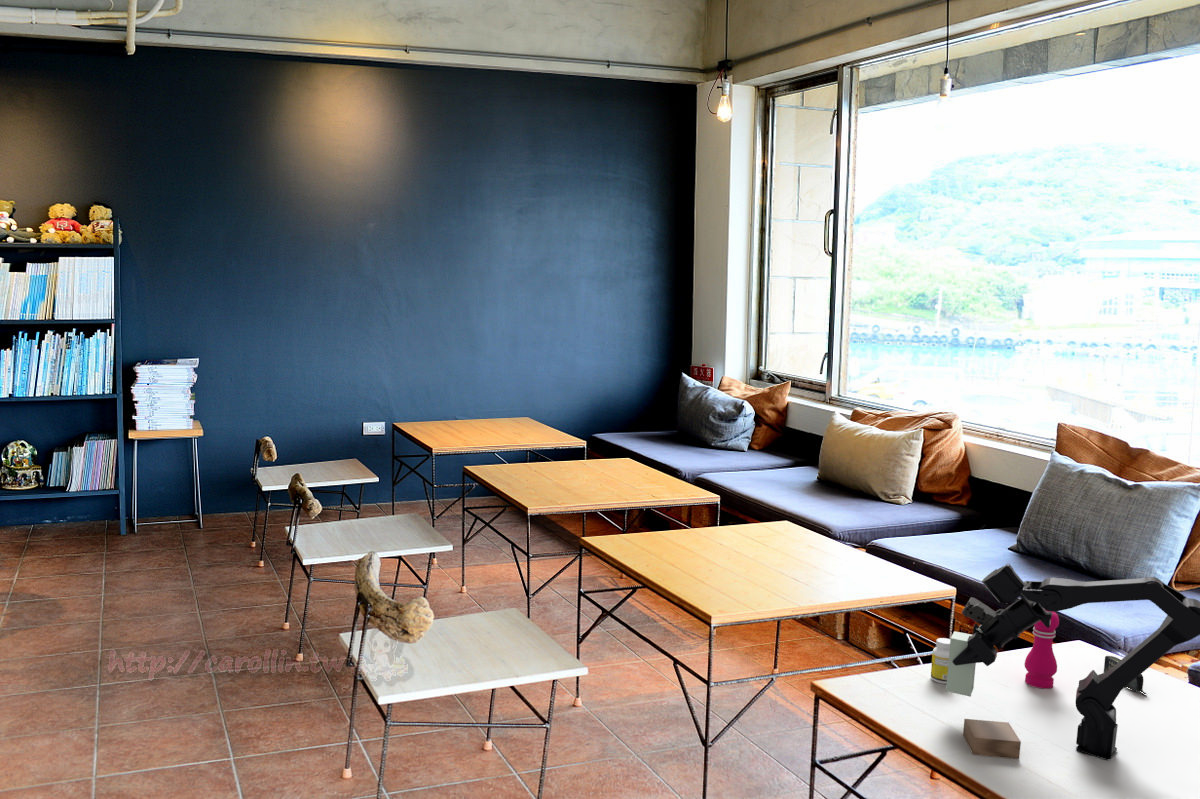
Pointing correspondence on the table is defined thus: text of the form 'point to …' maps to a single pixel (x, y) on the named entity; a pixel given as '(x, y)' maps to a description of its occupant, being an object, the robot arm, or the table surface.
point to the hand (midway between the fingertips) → (955, 659)
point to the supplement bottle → (940, 660)
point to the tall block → (959, 667)
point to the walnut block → (991, 738)
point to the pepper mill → (1042, 655)
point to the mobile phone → (1134, 685)
